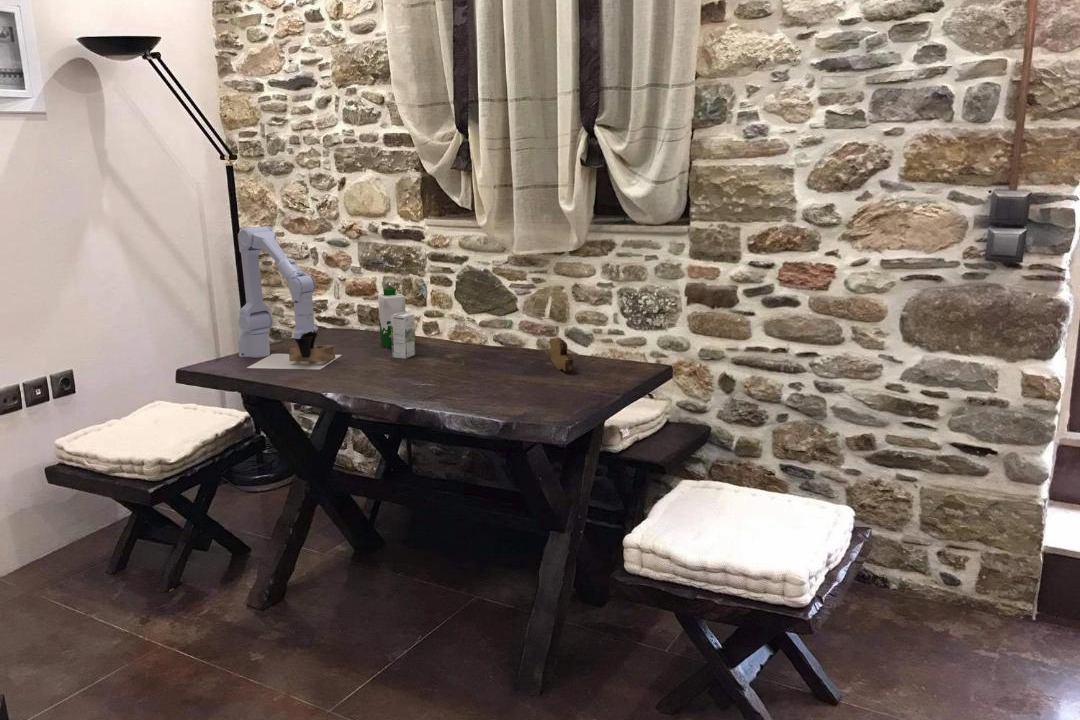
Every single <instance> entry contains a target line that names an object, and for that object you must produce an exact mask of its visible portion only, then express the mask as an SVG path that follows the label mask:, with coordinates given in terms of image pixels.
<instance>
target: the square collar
mask: <svg viewBox="0 0 1080 720" xmlns="http://www.w3.org/2000/svg"><path fill="white" fill-rule="evenodd" d="M288 354H289V361H304V362H324V361H327V360H330V359H334V358H335V355H336V345H317V349H313V348H310V356H309V358H303V357H302V355H301V352H300V349H299V346H298V345H297V346H295V347H291V348H289V349H288Z"/></svg>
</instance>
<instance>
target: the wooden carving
mask: <svg viewBox="0 0 1080 720" xmlns="http://www.w3.org/2000/svg"><path fill="white" fill-rule="evenodd" d="M549 347H550V348H549V349H548V352H549V353H550V359H551V363H552V364H553V365H554V366H555V368H556V369H557V370H559V371H561V370H562V371H564V372H568V371H572V370H573V366H574V358H573V356H572V354H570V353H568V348H569V347H568V344H567V341H565V340H564V339H562V338H561V337H559V336H558V337H552V338H551V337H550V338H549Z"/></svg>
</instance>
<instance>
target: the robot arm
mask: <svg viewBox="0 0 1080 720" xmlns="http://www.w3.org/2000/svg"><path fill="white" fill-rule="evenodd" d="M276 235H277V234H276V232H275V231H274V229H273V228H272V227H271V226H269V225H265V226H255V227H242V228H241V229H240V230H239V232H238V233H237V241H238V248H239V249H238V250H239V253H240V256H241V266H242V267H241V268H242V274H243V275H242V276H243V285H244V293H245V304H244V305H243V306H242V307H241V308H240V310H239V316H238V317H239V318H238V325H239V326H238V327H239V329H240V330H241V332H240V333H239V335H238V338H237V346H238V355H239V358H263V357H264V358H266V357H268V356H269V355H271V349H270V346H271V345H270V339H269V332H270V331H271V328H272V327H273V326H274V325H273V324H274V318H273V315H272V312H271V308H270V307H271V306H269V305H267V304H265V303H264V297H263V288H262V280H261V279H262V278H261V270H260V269H261V268H260V259H259V258H260V257H259V255H260V254H261V253H262V251H265V252H266V253H267V255H269V256H270V258H272V259H273V260H274V261H275V262H276V264H277V271H278V272H279V273H280V274H281V275H282V277H283V278H284V279H285V281H286V282H287V283H288V290H289V292H290V294H291V295H290V296H291V299H292V301H293V308H294V309H293V310H294V321H295V323H294V325H295V327H294V332H292V334H293V335H292V336H293V340H294V341H295V343H296V344H297V347H298V346H299V349H300V352H301V355H302V357H303V358H309V356H310V348H313V347H314V344H315V343H316V342H315V341H316V339H317V337H318V332H317V331H318V330H319V327H317V325H318V324H317V323H315V315H314V300H313V299H314V298H313V293H314V292H315V291H316V288H317V287H316V281H315V279H314V277H313V275H311V274H308V273H306V272H304V271H303V269H302V268H301V267H300V266H299V265H298V263H297V262H296V260H295V259H293V258H291V257H290V258H289V257H287V255H286V253H285V252H284V250H283V249H282V247H281V246H280V244H279V243H278V242H277V236H276Z"/></svg>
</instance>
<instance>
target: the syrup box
mask: <svg viewBox="0 0 1080 720" xmlns="http://www.w3.org/2000/svg"><path fill="white" fill-rule="evenodd" d="M415 327H416V326H415V314H414V313H411V312H406V313H404V312H403V313H397V314H394V315H391V343H392V348H391V358H395V359H408V358H411V357H415V356H416V338H415V337H416V333H415V332H416V330H415Z"/></svg>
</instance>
